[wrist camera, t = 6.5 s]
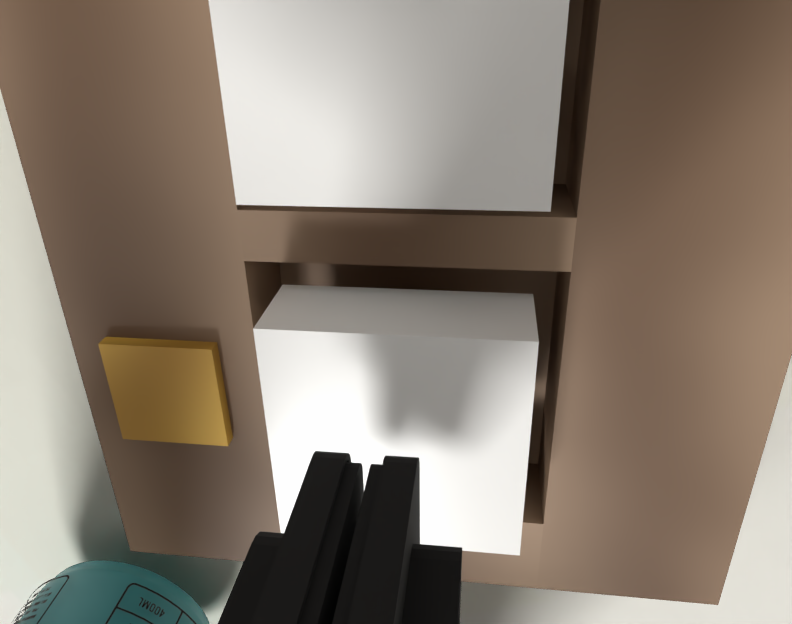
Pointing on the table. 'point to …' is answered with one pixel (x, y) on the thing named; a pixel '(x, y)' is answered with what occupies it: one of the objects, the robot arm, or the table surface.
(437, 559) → the robot arm
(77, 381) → the table surface
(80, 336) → the keypad
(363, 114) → the key middle
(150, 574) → the beverage bottle
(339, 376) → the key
